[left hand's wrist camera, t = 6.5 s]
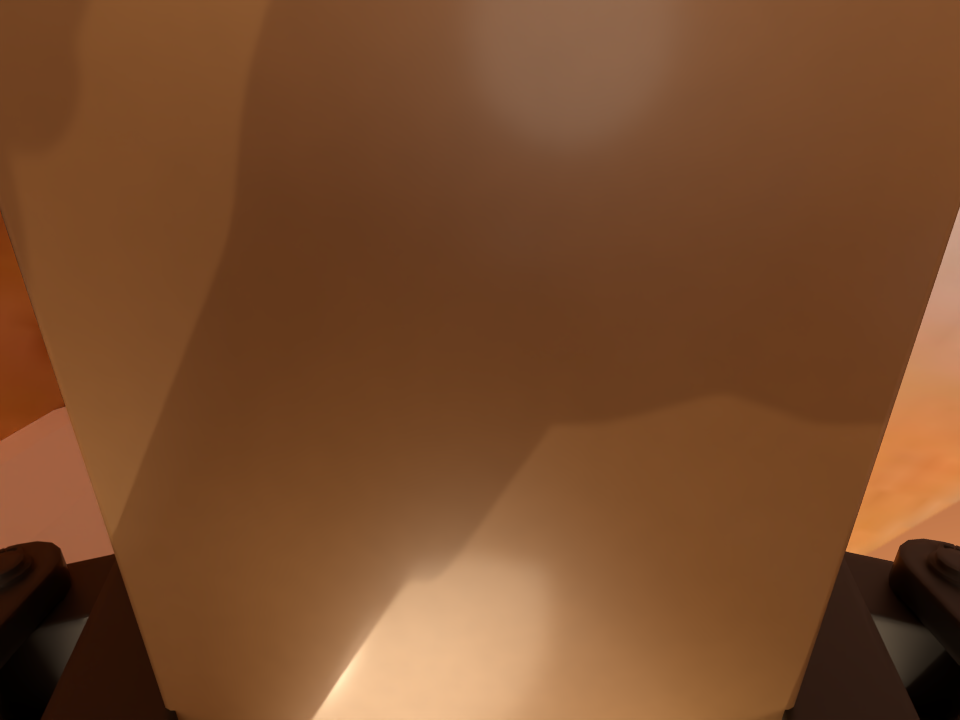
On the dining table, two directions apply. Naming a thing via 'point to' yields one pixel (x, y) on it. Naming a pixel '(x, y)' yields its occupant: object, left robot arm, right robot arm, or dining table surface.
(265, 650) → the box
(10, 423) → the dining table surface
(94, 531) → the container
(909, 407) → the dining table surface
